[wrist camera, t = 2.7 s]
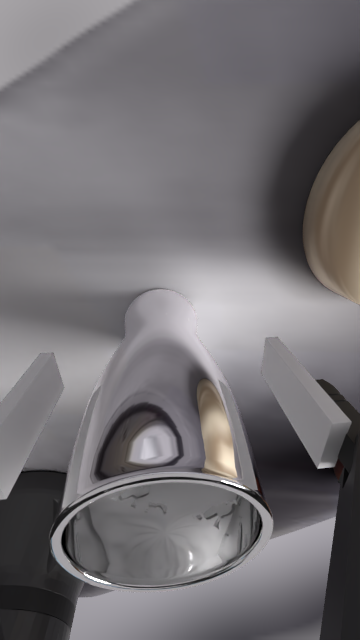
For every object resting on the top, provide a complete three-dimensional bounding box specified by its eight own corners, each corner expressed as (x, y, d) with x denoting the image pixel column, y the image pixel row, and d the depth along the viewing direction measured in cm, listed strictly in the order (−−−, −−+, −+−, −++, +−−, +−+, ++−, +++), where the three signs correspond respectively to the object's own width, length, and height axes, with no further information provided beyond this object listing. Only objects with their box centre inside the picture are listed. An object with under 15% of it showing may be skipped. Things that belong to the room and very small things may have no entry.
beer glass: (198, 356, 22) (258, 585, 9) (122, 357, 22) (62, 604, 8) (205, 283, 19) (309, 463, 6) (116, 282, 19) (9, 479, 5)
